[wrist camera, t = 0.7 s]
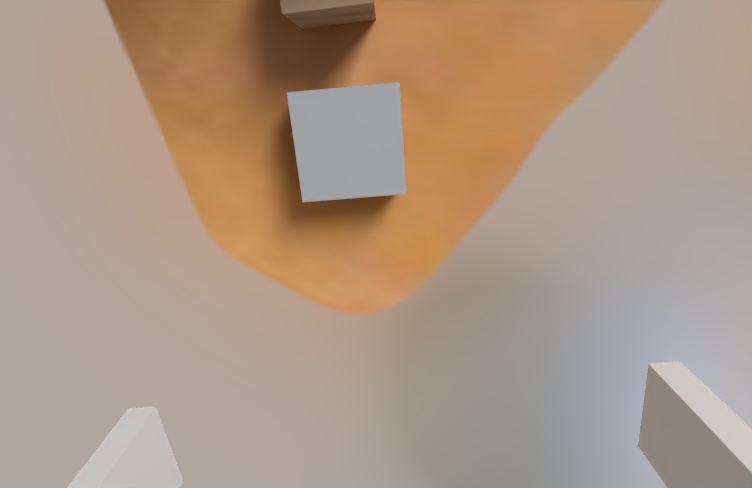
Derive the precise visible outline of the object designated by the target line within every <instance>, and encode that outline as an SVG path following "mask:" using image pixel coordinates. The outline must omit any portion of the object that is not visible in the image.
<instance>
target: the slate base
mask: <svg viewBox="0 0 752 488" xmlns="http://www.w3.org/2000/svg"><path fill="white" fill-rule="evenodd" d="M287 99H288V106H289V113H290V119H291V126H292V133H293V140H294V147H295V154H296V161H297V168H298V175H299V182H300V189H301V196H302V202H313V201H326V200H338V199H350V198H363V197H375V196H388V195H400V194H406V178H405V162H404V146H403V130H402V114H401V98H400V82H395V83H384V84H373V85H362V86H351V87H340V88H329V89H318V90H307V91H296V92H287Z"/></svg>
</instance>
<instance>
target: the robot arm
mask: <svg viewBox="0 0 752 488" xmlns="http://www.w3.org/2000/svg"><path fill="white" fill-rule="evenodd" d="M638 446H639V448H640V449H641V451H642V452H643V453H644V455H645V456H646V458H647V459H648V460H649V462H650V463H651V465H652V466H653V468H654V469H655V471H656V472H657V473H658V475H659V476H660V477H661V479H662V480H663V482H664V483H665V485H666V486H667V488H752V429H751V428H750V427H749V426H748V425H747V424H746V423H745V422H744V421H742V420H741V419H740V418H739V417H738V416H737V415H736V414H735V413H734V412H733V411H732V410H731V409H730V408H729V407H728V406H726V405H725V404H724V403H723V402H722V401H721V400H720V399H719V398H718V397H717V396H716V395H715V394H714V393H713V392H712V391H711V390H709V389H708V388H707V387H706V386H705V385H704V384H703V383H702V382H701V381H700V380H699V379H698V378H697V377H696V376H695V375H693V374H692V373H691V372H690V371H689V370H688V369H687V368H686V367H685V366H684V365H683V364H682V363H681V362H680V361H676V362H665V363H653V364H649V366H648V374H647V382H646V389H645V398H644V406H643V413H642V421H641V429H640V436H639V444H638ZM182 481H183V480H182V477H181V474H180V471H179V469H178V466H177V464H176V461H175V458H174V455H173V453H172V450H171V447H170V444H169V442H168V439H167V436H166V434H165V431H164V428H163V425H162V422H161V420H160V417H159V414H158V412H157V409H156V407H155V406H153V407H141V408H129V409H128V410H127V411H126V412H125V414H124V415H123V416H122V418H121V419H120V420H119V421H118V423H117V424H116V425H115V427H114V428H113V429H112V431H111V432H110V433H109V434H108V436H107V437H106V438H105V440H104V441H103V442H102V443H101V445H100V446H99V447H98V449H97V450H96V451H95V452H94V454H93V455H92V456H91V458H90V459H89V460H88V462H87V463H86V464H85V465H84V467H83V468H82V469H81V470H80V472H79V473H78V474H77V476H76V477H75V478H74V480H73V481H72V482H71V483H70V485H69V486H68V487H67V488H180V485H181V483H182Z"/></svg>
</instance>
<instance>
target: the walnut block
mask: <svg viewBox="0 0 752 488" xmlns="http://www.w3.org/2000/svg"><path fill="white" fill-rule="evenodd" d="M280 5H281V11H282V15H284V16H285V17H286V18H288V19H289V20H290V21H292V22H293V23H294V24H295V25H297V26H298V27H299V28H301V29H307V28H315V27H324V26H332V25H340V24H348V23H356V22H364V21H372V20H376V18H375V7H374V0H280Z"/></svg>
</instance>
